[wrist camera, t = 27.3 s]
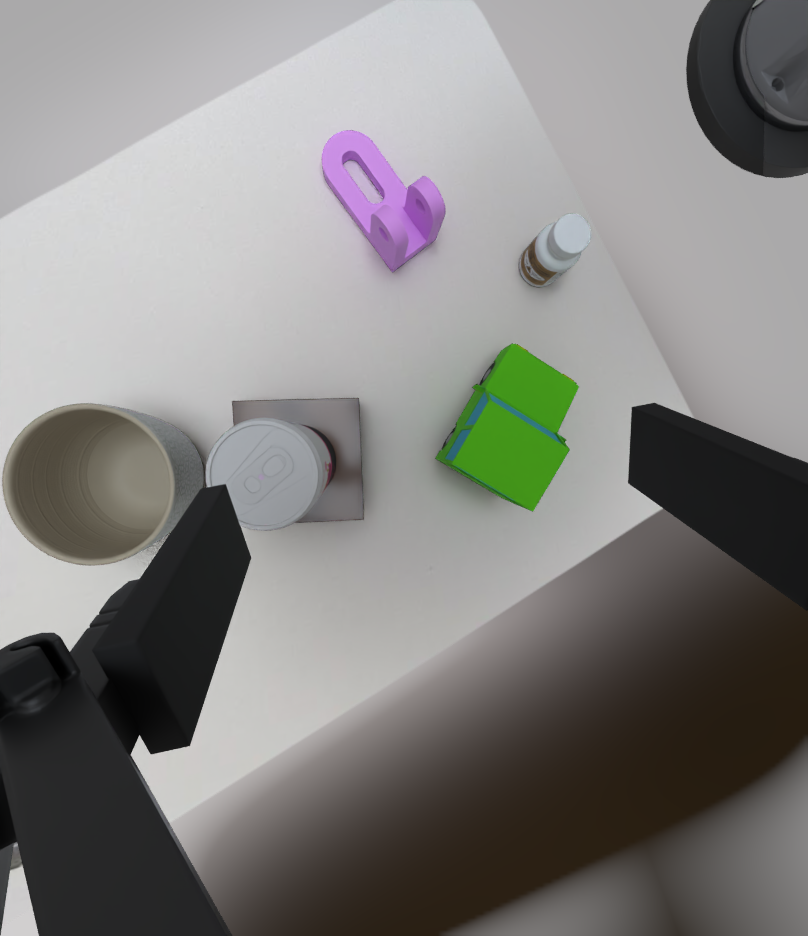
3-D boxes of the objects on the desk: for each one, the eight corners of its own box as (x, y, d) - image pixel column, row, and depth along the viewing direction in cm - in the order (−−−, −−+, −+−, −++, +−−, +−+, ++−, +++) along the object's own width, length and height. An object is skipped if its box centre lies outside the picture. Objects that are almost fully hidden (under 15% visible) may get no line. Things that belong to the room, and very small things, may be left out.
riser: (359, 402, 47) (358, 397, 41) (363, 509, 47) (363, 519, 41) (249, 405, 46) (232, 400, 40) (255, 514, 46) (239, 525, 40)
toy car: (569, 394, 49) (622, 383, 39) (506, 501, 49) (543, 517, 39) (489, 343, 47) (523, 318, 37) (424, 452, 48) (441, 456, 38)
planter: (62, 485, 45) (-35, 500, 34) (140, 385, 45) (68, 369, 34) (168, 560, 46) (108, 597, 35) (244, 463, 46) (207, 470, 35)
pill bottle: (510, 260, 47) (538, 225, 39) (543, 236, 47) (579, 197, 40) (533, 296, 48) (566, 269, 40) (566, 272, 48) (606, 240, 40)
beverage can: (351, 465, 41) (345, 481, 26) (295, 513, 41) (257, 556, 26) (302, 409, 40) (267, 393, 25) (246, 457, 40) (176, 469, 25)
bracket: (435, 239, 46) (448, 204, 39) (392, 272, 46) (397, 243, 39) (356, 128, 45) (355, 71, 38) (311, 161, 45) (302, 111, 38)
